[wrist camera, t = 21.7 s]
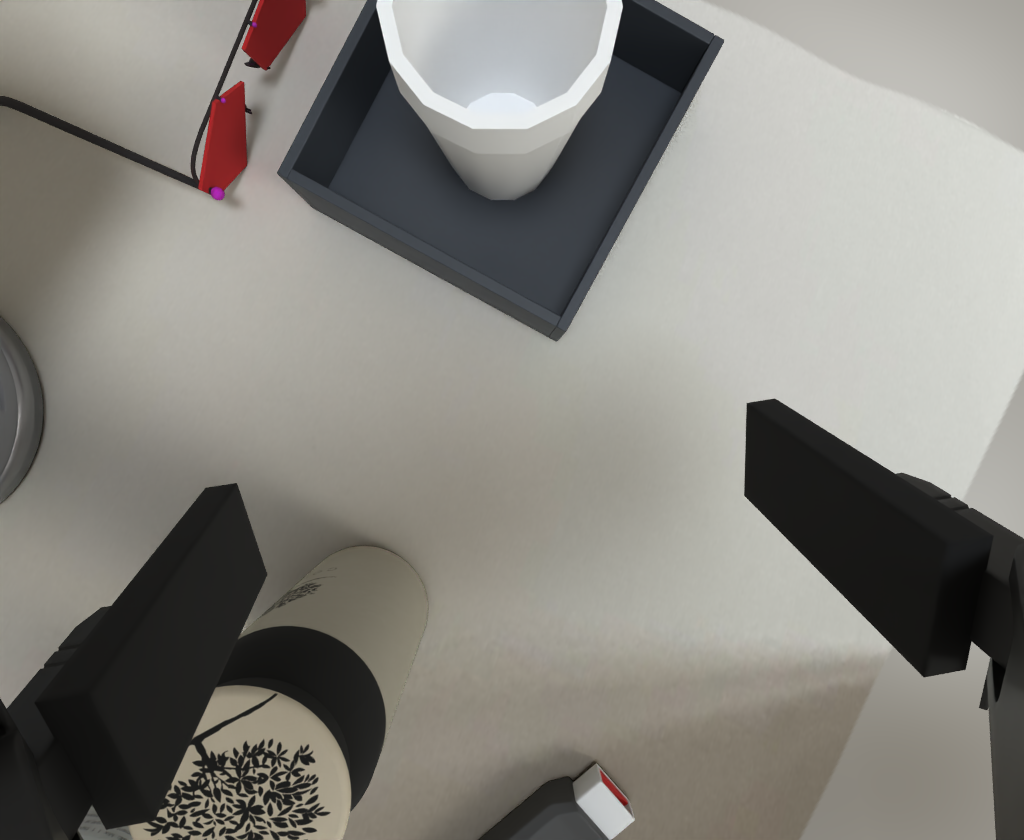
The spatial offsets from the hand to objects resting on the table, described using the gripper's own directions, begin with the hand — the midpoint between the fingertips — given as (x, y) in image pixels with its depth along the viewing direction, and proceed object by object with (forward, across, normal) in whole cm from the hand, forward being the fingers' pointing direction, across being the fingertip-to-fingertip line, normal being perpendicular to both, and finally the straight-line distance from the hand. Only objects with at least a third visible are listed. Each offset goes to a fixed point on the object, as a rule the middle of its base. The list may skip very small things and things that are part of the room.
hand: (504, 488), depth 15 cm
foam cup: (+26, +4, +9) cm, 28 cm away
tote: (+26, +4, +9) cm, 28 cm away
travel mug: (+18, -9, -16) cm, 26 cm away
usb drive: (+12, 0, -32) cm, 34 cm away
